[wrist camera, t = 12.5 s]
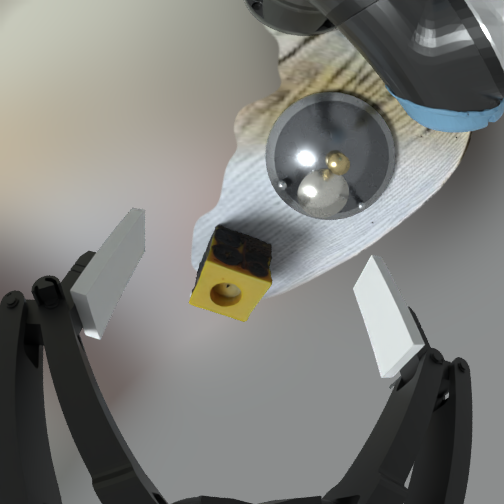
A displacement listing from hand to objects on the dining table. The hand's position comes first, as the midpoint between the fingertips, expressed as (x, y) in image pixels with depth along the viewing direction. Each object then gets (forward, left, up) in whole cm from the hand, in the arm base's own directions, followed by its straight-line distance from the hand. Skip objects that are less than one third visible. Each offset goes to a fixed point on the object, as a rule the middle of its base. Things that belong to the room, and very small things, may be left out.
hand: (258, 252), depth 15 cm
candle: (+20, 0, -27) cm, 34 cm away
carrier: (-1, +11, -27) cm, 29 cm away
